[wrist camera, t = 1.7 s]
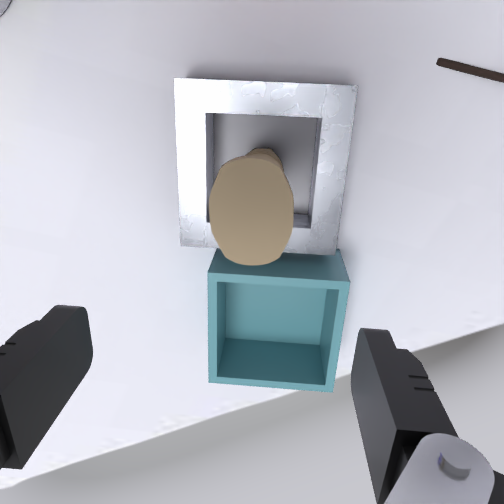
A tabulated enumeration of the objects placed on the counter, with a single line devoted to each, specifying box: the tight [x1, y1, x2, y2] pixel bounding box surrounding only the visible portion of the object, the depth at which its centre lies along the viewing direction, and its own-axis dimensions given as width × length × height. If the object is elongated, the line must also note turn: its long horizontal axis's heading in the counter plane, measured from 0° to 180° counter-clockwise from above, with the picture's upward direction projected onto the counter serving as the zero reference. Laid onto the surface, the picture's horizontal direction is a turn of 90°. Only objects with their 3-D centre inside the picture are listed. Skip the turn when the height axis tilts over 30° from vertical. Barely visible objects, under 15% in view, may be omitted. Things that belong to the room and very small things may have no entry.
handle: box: [209, 148, 294, 266], centre depth 29 cm, size 5×6×15 cm
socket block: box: [174, 78, 358, 255], centre depth 34 cm, size 14×14×4 cm
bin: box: [208, 248, 350, 392], centre depth 38 cm, size 12×12×7 cm
